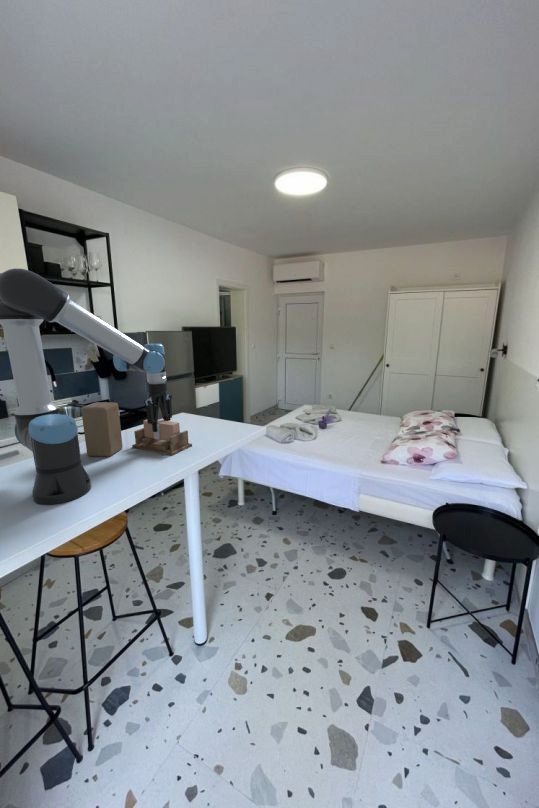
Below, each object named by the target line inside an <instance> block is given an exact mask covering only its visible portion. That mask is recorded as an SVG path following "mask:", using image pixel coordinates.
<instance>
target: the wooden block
mask: <svg viewBox="0 0 539 808" xmlns="http://www.w3.org/2000/svg"><path fill="white" fill-rule="evenodd" d="M80 413H81V418H82V426H83V432H84V439H85V440H84V441H85V447H86V456H89V457H109V458H110V457H112V456H114V455H115V454H116V453H118V452H119V451H120V450H123V438H122V428H121V419H120V408H119V404H118V402H104V401H103V402H102V401H101V402H100V401H99V402H98V401H97V402H93V403H90V404H88V405H85V406H82V407H81V409H80Z"/></svg>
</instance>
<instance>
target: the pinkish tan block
mask: <svg viewBox="0 0 539 808" xmlns="http://www.w3.org/2000/svg"><path fill="white" fill-rule="evenodd" d="M142 422H143V428H144V435H145V437H149V438H154V432H153V430H152V424H148V422H147V419H145V420H143V421H142ZM157 424H159V428H160V439H161V440H166V441H169V437H171V436H173V435H176V434H178V433H181V430H180V428H181V427H180V422H178V421H177V422H175V421H171V420H170V421H164V420H163V419H158V423H157Z"/></svg>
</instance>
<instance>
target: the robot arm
mask: <svg viewBox="0 0 539 808" xmlns="http://www.w3.org/2000/svg"><path fill="white" fill-rule="evenodd" d="M44 320H45V321H46V322H48V323H58V324H59V325H61V326H62V327H64V328H66V329H68V330H70V331H71V332H74V333H75V334H77V335H78V336H80V337H82V338H84V339H85V340H88V341H90V342H91V343H92V344H94V345H96V346H98V347H99V348H101V349H103V350H105V351H107V352H109V353H111V354H113V357H112V362H113V366H114V368H115V370H117V371H118V372H128V371H133V372H140V373H146V381H147V385H146V386H147V392H148V393H149V396H148V399H144V401H143V403H144V406H145V413H146V420H147V422H148V424H152V430H153V432H154V439H160V428H159V424H157V423H158V420H159V411H160V412H161V416H162V420H164V421H170V422H171V419H172V418H173V412H172V411H173V408H172V398H173V395H172V394H168V393H167V391H168V383H167V369H166V353H165V347H164V345H163V344H162V343H146V344H144V346H143V345H142V344H140V343H139V342H137V341H135V340H134V339H132V338H131V337H130V336H128V335H126V334H125V333H123V332H122V331H120V330H118V329H117V328H116V327H114V326H112V325H110V324H109V323H107V322H106V321H104V320H103V319H101V318H99V317H98V316H97V315H95V314H93V313H92V312H91V311H89V310H87V309H85V308H84V307H82V306H81V305H79V304H78V303H76V302H75V301H73V300H71V298H70V295H69V293H68V292H66V291H64V290H62V289H61V288H59V287H58V286H57V285H55V284H53V283H52V282H50V281H48V279H46V278H44V277H43V276H41V275H39V274H38V273H35V272H33V271H31V270H29V269H25V268H10V269H8V270H5V271H4V272H1V273H0V325H1V326H2V327H3V333H4V336H5V337H4V338H5V342H6V346H7V348H6V349H7V352H8V357H9V361H10V362H9V363H10V367H11V372H12V377H13V378H12V379H13V382H14V388H15V393H16V398H17V403H18V407H17V408H16V409H15V410H14V412H13V414H14V420H15V425H14V436H15V438H16V440H17V441H18V442H19V444H21V445H22V446H23V447H25V448H27V449H28V450H29V451H30V452H32V457H33V461H34V467H35V478H34V483H33V487H32V488H33V489H32V493H31V494H32V500H33V502H34V503H36V504H38V505H45V506H46V505H56V504H62V503H67V502H71V501H74V500H75V499H79V498H81V497H82V496H84V495H86V494H87V493H89V491H91V489H92V481H91V478H90V476H89V474H88V473H87V471H86V469H85V468H84V466H83V464H82V458H81V457H82V456H81V451H80V449H81V447H80V442H79V441H80V440H79V433H78V431H79V429H78V426H77V422H76V420H75V419H74V417H73V416H70V415H68V414H60V409H59V406H58V405H57V404H55V403H53V400H52V396H51V390H50V384H49V379H48V378H49V377H48V372H47V367H46V362H45V355H44V350H43V349H44V348H43V343H42V337H41V333H40V331H41V330H40V326H41V324H42V323H43V322H44ZM159 409H160V410H159Z"/></svg>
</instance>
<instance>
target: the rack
mask: <svg viewBox="0 0 539 808" xmlns="http://www.w3.org/2000/svg"><path fill="white" fill-rule="evenodd" d="M134 441H135V443H134V444H132V448H133V449H139V450H143V451H144V450H145V451H147V452H154V453H159V454H164V455H169V456H174V455H177V454H179V453H181V452H183V451H185V450H186V449H189V448H190V447H193V444H192V443H190V442H189V432H188V430H187V429H186V430H184V431H180V433H178V434H176V435H173V436H171V437H169V441H166V440H161V439H154V438H149V437H145V435H144V427H141V428H140V429H136V430H134Z"/></svg>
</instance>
